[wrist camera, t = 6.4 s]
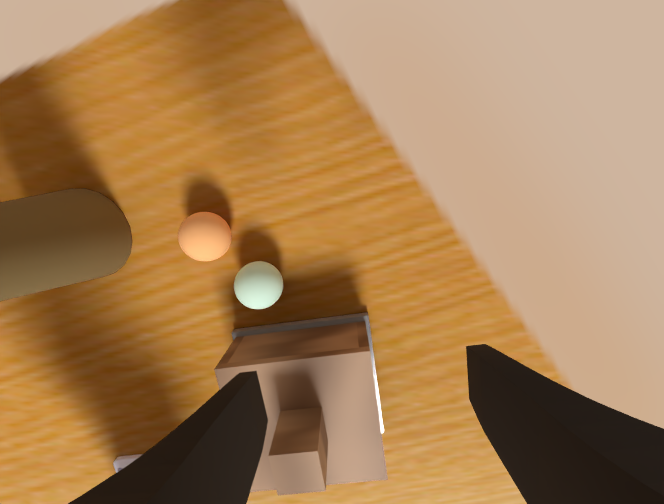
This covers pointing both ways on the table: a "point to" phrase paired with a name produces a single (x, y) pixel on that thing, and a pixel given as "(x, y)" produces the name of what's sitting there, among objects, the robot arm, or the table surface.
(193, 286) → the table surface
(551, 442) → the robot arm
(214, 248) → the terracotta ball
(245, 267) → the mint ball
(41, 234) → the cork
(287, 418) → the walnut cover
